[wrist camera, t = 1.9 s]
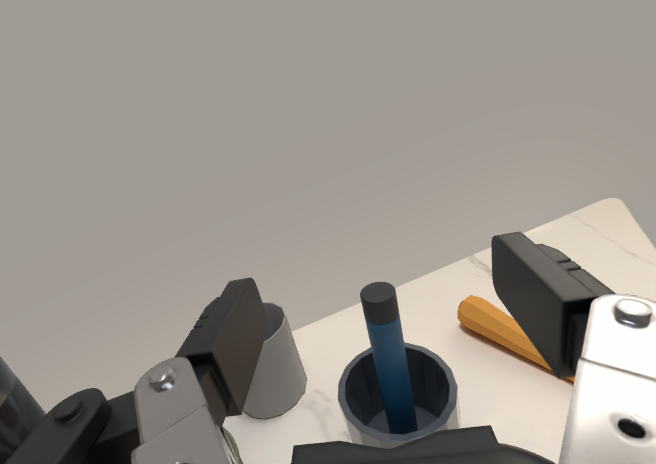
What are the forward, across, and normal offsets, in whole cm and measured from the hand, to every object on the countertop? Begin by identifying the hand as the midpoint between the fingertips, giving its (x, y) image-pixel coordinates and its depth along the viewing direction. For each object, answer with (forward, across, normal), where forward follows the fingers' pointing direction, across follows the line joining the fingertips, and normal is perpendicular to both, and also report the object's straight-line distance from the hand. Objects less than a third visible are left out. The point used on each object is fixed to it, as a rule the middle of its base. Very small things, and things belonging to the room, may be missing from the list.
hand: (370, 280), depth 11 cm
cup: (+20, +15, +26) cm, 36 cm away
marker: (+11, 0, +25) cm, 28 cm away
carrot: (+19, -16, +26) cm, 36 cm away
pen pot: (+11, 0, +26) cm, 28 cm away
